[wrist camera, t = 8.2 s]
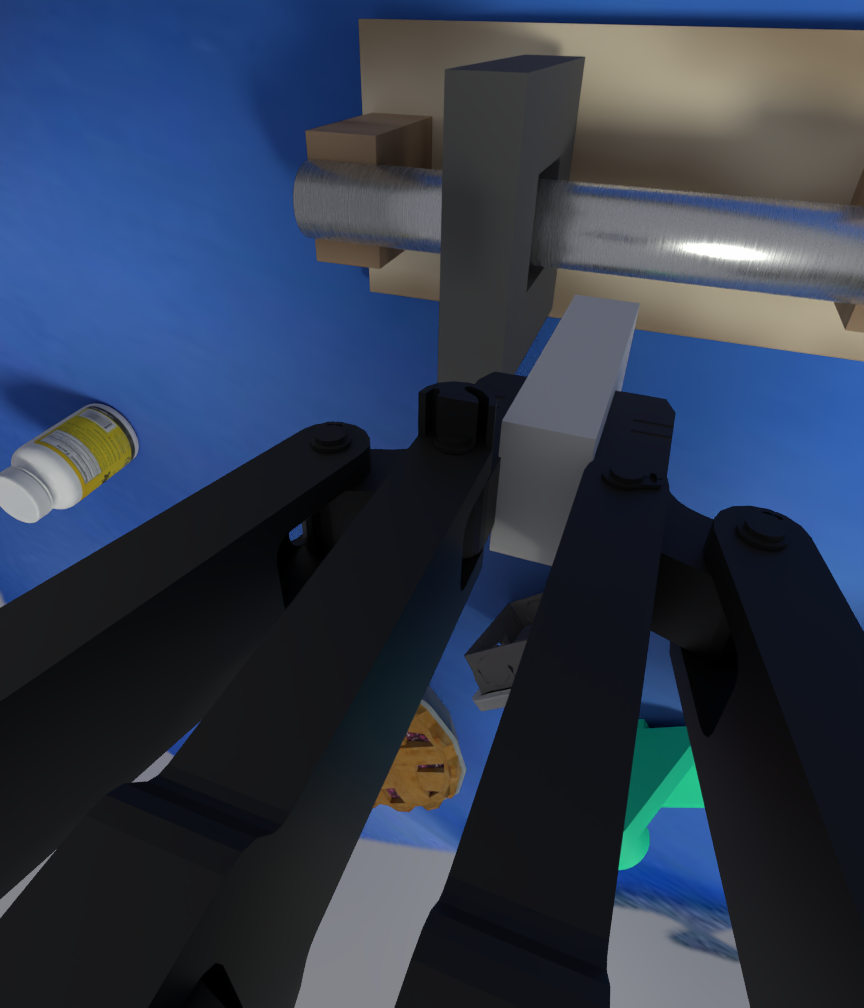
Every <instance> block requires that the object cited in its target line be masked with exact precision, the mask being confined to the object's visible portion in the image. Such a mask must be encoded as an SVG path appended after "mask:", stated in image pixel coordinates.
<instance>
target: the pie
mask: <svg viewBox="0 0 864 1008" xmlns="http://www.w3.org/2000/svg"><path fill="white" fill-rule="evenodd" d="M465 773H466V767H465V764H464V761H463V758H462V755H461V751H460V748H459V742H458V738H457V734H456V731H455V728H454V725H453V722H452V718H451V715H450V712H449V711H448V709H447V708H446V707H445V706H444V704H443V703H442V702H441V700H440V699H439V698H438V697H437V695H436V694H435V693H434V691H433V690H432V689H431V688H430V686H429V685H428V687H427V689H426V692H425V694H424V696H423V698H422V700H421V703H420V705H419V707H418V709H417V711H416V714H415V716H414V718H413V720H412V722H411V725H410V727H409V729H408V731H407V733H406V736H405V738H404V740H403V742H402V744H401V747H400V749H399V751H398V753H397V755H396V758H395V760H394V762H393V764H392V766H391V769H390V771H389V773H388V775H387V777H386V780H385V782H384V784H383V786H382V788H381V791H380V793H379V795H378V797H377V799H376V802H375V804H374V806H373V808H375V807H376V806H378V805H379V804H383V805H388V806H390V807H392V808H393V809H395V810H397V811H403V812H410V811H411V810H412V809H413V808H414V807H415V806H423V807H424V808H425V809H426V810H427V811H428V810H432V809H436V808H439V807H440V805H441V803H442V802H443V800H445V799H447V798H452V797H453V796H454V795H456V794H458V793H459V790H460V787H461V784H462V782H463V779H464V776H465Z"/></svg>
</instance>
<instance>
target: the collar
mask: <svg viewBox="0 0 864 1008" xmlns="http://www.w3.org/2000/svg"><path fill="white" fill-rule="evenodd" d="M584 64H585V57H581V56H553V55H526V54H525V55H519V56H514V57H509V58H503V59H498V60H492V61H487V62H482V63H476V64H471V65H465V66H460V67H455V68H449V69H445V79H444V122H443V166H442V209H441V252H440V296H439V339H438V382H437V383H440V382H451V381H457V382H468V383H472V384H475V383H476V382H477V380H478V379H480V378H482V377H484V376H486V375H488V374H490V373H492V372H494V371H495V372H501V373H507V374H513V375H514V374H515V373H516V371H517V369H518V367H519V366H520V364H521V362H522V360H523V359H524V357H525V355H526V353H527V352H528V350H529V348H530V346H531V345H532V343H533V341H534V339H535V338H536V336H537V334H538V332H539V331H540V329H541V327H542V325H543V324H544V322H545V320H546V318H547V317H548V315H549V313H550V311H551V310H552V306H553V299H554V291H555V284H556V276H557V269H558V268H551V267H543V266H535V265H529V262H530V252H531V243H532V233H533V224H534V214H535V205H536V195H537V186H538V178H540V179H552V180H563V181H569V178H570V170H571V162H572V155H573V147H574V140H575V132H576V125H577V117H578V109H579V102H580V94H581V87H582V79H583V71H584Z"/></svg>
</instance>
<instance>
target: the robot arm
mask: <svg viewBox="0 0 864 1008" xmlns="http://www.w3.org/2000/svg"><path fill="white" fill-rule="evenodd" d="M639 306H640V303H634V302H627V301H619V300H612V299H605V298H597V297H590V296H583V295H575V296H574V298H573V300H572V301H571V303H570V305H569V306H568V308H567V310H566V312H565V313H564V315H563V317H562V319H561V320H560V322H559V324H558V325H557V327H556V329H555V331H554V332H553V334H552V336H551V337H550V339H549V341H548V343H547V344H546V346H545V348H544V350H543V351H542V353H541V355H540V356H539V358H538V360H537V362H536V363H535V365H534V367H533V368H532V370H531V372H530V374H529V375H528V377H524V376H518V375H513V374H507V373H501V372H495V371H494V372H492V373H490V374H488V375H486V376H484V377H482V378H480V379H478V380H477V382H476V383H475V384H472V383H468V382H457V381H451V382H440V383H436V384H433V385H430V386H427V387H425V388H424V389H422V390H421V391H420V392H419V411H418V437H417V438H416V439H415V441H414V442H413V443H412V444H411V446H410V447H409V448H408V449H397V450H387V449H370V438H369V436H368V435H367V433H366V431H364V430H363V429H361V428H359V427H357V426H355V425H351V424H347V423H343V422H326V423H322V424H316V425H313V426H310V427H308V428H305V429H303V430H301V431H299V432H298V433H296V434H294V435H293V436H291V437H289V438H288V439H286V440H284V441H282V442H281V443H279V444H277V445H276V446H274V447H272V448H271V449H269V450H267V451H265V452H264V453H262V454H260V455H259V456H257V457H255V458H254V459H252V460H250V461H249V462H247V463H245V464H243V465H242V466H240V467H238V468H237V469H235V470H233V471H232V472H230V473H228V474H226V475H225V476H223V477H221V478H220V479H218V480H216V481H215V482H213V483H211V484H210V485H208V486H206V487H204V488H203V489H201V490H199V491H198V492H196V493H194V494H193V495H191V496H189V497H187V498H186V499H184V500H182V501H181V502H179V503H177V504H176V505H174V506H172V507H171V508H169V509H167V510H165V511H164V512H162V513H160V514H159V515H157V516H155V517H154V518H152V519H150V520H148V521H147V522H145V523H143V524H142V525H140V526H138V527H137V528H135V529H133V530H132V531H130V532H128V533H126V534H125V535H123V536H121V537H120V538H118V539H116V540H115V541H113V542H111V543H109V544H108V545H106V546H104V547H103V548H101V549H99V550H98V551H96V552H94V553H93V554H91V555H89V556H87V557H86V558H84V559H82V560H81V561H79V562H77V563H76V564H74V565H72V566H71V567H69V568H67V569H65V570H64V571H62V572H60V573H59V574H57V575H55V576H54V577H52V578H50V579H48V580H47V581H45V582H43V583H42V584H40V585H38V586H37V587H35V588H33V589H32V590H30V591H28V592H26V593H25V594H23V595H21V596H20V597H18V598H16V599H15V600H13V601H11V602H9V603H8V604H6V605H4V606H3V607H1V608H0V899H1V898H2V897H3V896H5V895H6V894H7V893H8V892H9V891H10V890H11V889H12V888H13V887H15V886H16V885H17V884H18V883H19V882H20V881H21V880H23V879H24V878H25V877H26V876H27V875H28V874H29V873H30V872H31V871H33V870H34V869H35V868H36V867H37V866H38V865H39V864H40V863H42V862H43V861H44V860H45V859H46V858H47V857H48V856H49V855H50V854H52V853H53V852H54V851H55V850H56V849H57V850H56V851H55V852H54V854H53V855H52V856H51V857H50V858H49V860H48V861H47V862H46V863H45V864H44V866H43V867H42V868H41V869H40V870H39V872H38V873H37V874H36V875H35V877H34V878H33V879H32V880H31V881H30V883H29V884H28V885H27V886H26V888H25V889H24V890H23V891H22V893H21V894H20V895H19V896H18V897H17V899H16V900H15V901H14V902H13V904H12V905H11V906H10V907H9V909H8V910H7V911H6V912H5V913H4V914H3V916H2V917H1V918H0V1008H294V1006H295V1003H296V1000H297V997H298V993H299V990H300V987H301V982H302V977H303V972H304V968H305V963H306V959H307V956H308V952H309V949H310V946H311V944H312V941H313V939H314V936H315V934H316V931H317V929H318V927H319V925H320V923H321V920H322V918H323V916H324V914H325V912H326V909H327V907H328V905H329V903H330V901H331V898H332V896H333V894H334V892H335V890H336V887H337V885H338V883H339V881H340V879H341V876H342V874H343V872H344V870H345V868H346V865H347V863H348V861H349V859H350V857H351V854H352V852H353V850H354V847H355V846H356V843H357V841H358V839H359V837H360V835H361V832H362V830H363V828H364V826H365V824H366V821H367V819H368V817H369V815H370V813H371V810H372V808H373V806H374V804H375V802H376V799H377V797H378V795H379V793H380V791H381V788H382V786H383V784H384V782H385V780H386V777H387V775H388V773H389V771H390V769H391V766H392V764H393V762H394V760H395V758H396V755H397V753H398V751H399V749H400V747H401V744H402V742H403V740H404V738H405V736H406V733H407V731H408V729H409V727H410V725H411V722H412V720H413V718H414V716H415V714H416V711H417V709H418V707H419V705H420V703H421V700H422V698H423V696H424V694H425V692H426V689H427V687H428V685H429V683H430V681H431V678H432V676H433V674H434V672H435V670H436V667H437V665H438V663H439V661H440V659H441V656H442V654H443V652H444V650H445V648H446V645H447V643H448V641H449V639H450V637H451V634H452V632H453V630H454V628H455V626H456V623H457V621H458V619H459V617H460V615H461V612H462V610H463V608H464V606H465V604H466V601H467V599H468V597H469V595H470V593H471V590H472V588H473V586H474V584H475V582H476V579H477V577H478V575H479V573H480V571H481V568H482V562H483V552H484V545H485V543H486V541H487V539H488V536H489V534H490V532H491V539H490V551H494V552H498V553H502V554H506V555H510V556H514V557H518V558H522V559H526V560H530V561H534V562H537V563H541V564H545V565H549V566H552V567H551V570H550V573H549V576H548V579H547V582H546V585H545V588H544V591H543V594H542V597H541V600H540V603H539V606H538V609H537V612H536V615H535V618H534V621H533V624H532V627H531V630H530V633H529V636H528V639H527V642H526V645H525V648H524V651H523V654H522V657H521V660H520V663H519V666H518V669H517V672H516V675H515V678H514V681H513V684H512V687H511V690H510V693H509V696H508V699H507V702H506V705H505V708H504V711H503V714H502V717H501V720H500V723H499V726H498V729H497V732H496V735H495V738H494V741H493V744H492V747H491V750H490V753H489V756H488V759H487V762H486V765H485V768H484V771H483V774H482V777H481V780H480V783H479V786H478V789H477V792H476V795H475V798H474V801H473V804H472V807H471V810H470V813H469V816H468V819H467V822H466V825H465V828H464V831H463V834H462V837H461V840H460V843H459V846H458V849H457V852H456V855H455V858H454V861H453V864H452V867H451V870H450V873H449V876H448V879H447V881H446V884H445V887H444V890H443V892H442V895H441V896H440V899H439V901H438V902H437V903H436V904H435V906H434V907H433V908H432V909H431V911H430V913H429V916H428V918H427V920H426V922H425V924H424V926H423V929H422V931H421V934H420V937H419V939H418V942H417V945H416V948H415V950H414V953H413V955H412V958H411V961H410V964H409V967H408V970H407V973H406V976H405V979H404V981H403V985H402V987H401V990H400V993H399V996H398V999H397V1002H396V1005H395V1008H610V983H609V979H608V974H607V953H608V943H609V936H610V928H611V921H612V913H613V906H614V899H615V891H616V884H617V876H618V869H619V861H620V854H621V846H622V839H623V831H624V824H625V816H626V809H627V801H628V794H629V786H630V779H631V771H632V764H633V756H634V749H635V742H636V734H637V727H638V719H639V712H640V704H641V697H642V689H643V682H644V674H645V667H646V659H647V652H648V644H649V637H650V630H651V631H653V632H654V633H656V634H658V635H660V636H662V637H664V638H666V639H668V640H669V641H670V657H671V661H672V666H673V670H674V675H675V679H676V683H677V688H678V692H679V697H680V701H681V705H682V710H683V714H684V719H685V723H686V727H687V732H688V736H689V740H690V745H691V749H692V754H693V758H694V762H695V767H696V771H697V776H698V780H699V784H700V789H701V793H702V798H703V802H704V806H705V811H706V815H707V819H708V824H709V828H710V833H711V837H712V841H713V846H714V850H715V855H716V859H717V863H718V868H719V872H720V877H721V881H722V885H723V890H724V894H725V898H726V903H727V907H728V912H729V916H730V920H731V925H732V929H733V934H734V938H735V942H736V947H737V951H738V955H739V960H740V964H741V968H742V973H743V977H744V981H745V986H746V991H747V995H748V999H749V1003H750V1008H864V631H863V630H862V628H861V626H860V624H859V622H858V621H857V619H856V617H855V615H854V613H853V612H852V610H851V608H850V606H849V604H848V603H847V601H846V599H845V597H844V596H843V594H842V592H841V590H840V588H839V587H838V585H837V583H836V581H835V579H834V578H833V576H832V574H831V572H830V570H829V569H828V567H827V565H826V563H825V561H824V560H823V558H822V556H821V554H820V552H819V551H818V549H817V547H816V545H815V543H814V542H813V540H812V538H811V537H810V536H809V534H808V533H807V532H806V531H805V530H804V529H803V528H802V526H800V525H799V524H797V523H796V522H794V521H793V520H791V519H790V518H788V517H786V516H784V515H782V514H780V513H778V512H774V511H772V510H769V509H766V508H759V507H753V506H733V507H730V508H727V509H724V510H721V511H720V512H719V513H718V514H717V516H716V517H715V518H714V520H713V519H711V518H709V517H706V516H704V515H701V514H699V513H697V512H695V511H693V510H691V509H689V508H687V507H686V506H685V505H683V504H682V503H680V502H679V501H678V500H677V499H676V498H675V497H674V496H673V495H672V494H671V493H670V491H669V483H668V479H667V471H668V463H669V456H670V449H671V442H672V434H673V427H674V420H675V412H674V410H673V409H672V407H671V406H670V404H669V403H668V401H667V400H666V399H662V398H656V397H650V396H644V395H639V394H633V393H627V392H621V389H622V385H623V380H624V376H625V371H626V366H627V362H628V357H629V352H630V348H631V343H632V339H633V334H634V329H635V325H636V320H637V315H638V311H639ZM301 523H302V529H303V534H302V535H301V536H299V537H298V538H297V539H295V540H293V541H290V539H289V532H290V531H291V530H293V529H294V528H295V527H297V526H298V525H299V524H301ZM200 721H201V722H200ZM199 722H200V723H199ZM198 723H199V724H198ZM196 724H198V726H197V727H196V728H195V730H194V731H193V732H192V734H191V735H190V736H189V738H188V739H187V740H186V742H185V743H184V744H183V745H182V747H181V748H180V749H179V751H178V752H177V753H176V755H175V756H174V757H173V759H172V760H171V761H170V763H169V764H168V765H167V766H166V767H165V768H164V769H163V770H162V772H161V773H160V774H159V775H158V776H156V777H154V778H153V779H151V780H149V781H148V782H134V783H131V782H132V781H134V780H135V779H136V778H137V777H138V776H139V775H140V774H141V773H143V772H144V771H145V770H146V769H147V768H148V767H149V766H150V765H152V763H154V762H155V761H156V760H157V759H158V758H159V757H161V756H162V754H164V753H165V752H166V751H167V750H168V749H169V748H171V747H172V746H173V745H174V744H175V743H176V742H177V741H178V740H180V739H181V738H182V737H183V736H184V735H185V734H186V733H187V732H189V731H190V730H191V729H192V728H193V727H194V726H195V725H196Z"/></svg>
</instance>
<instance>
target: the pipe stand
mask: <svg viewBox="0 0 864 1008" xmlns="http://www.w3.org/2000/svg"><path fill="white" fill-rule="evenodd" d="M359 42H360V66H361V89H362V113H363V115H361V116H357V117H354V118H350V119H346V120H343V121H339V122H335V123H332V124H328V125H324V126H321V127H317V128H313V129H309V130H306V131H305V133H306V144H307V155H308V159H312V160H324V161H335V162H347V163H358V164H370V165H389V166H401V167H413V168H424V169H436V170H442V166H443V122H444V79H445V69H449V68H455V67H460V66H465V65H471V64H476V63H482V62H487V61H492V60H498V59H503V58H509V57H514V56H519V55H525V54H526V55H553V56H581V57H585V64H584V71H583V79H582V87H581V94H580V102H579V109H578V117H577V125H576V132H575V140H574V147H573V155H572V162H571V170H570V178H569V181H575V182H587V183H598V184H610V185H621V186H633V187H645V188H656V189H668V190H679V191H691V192H703V193H714V194H726V195H737V196H749V197H761V198H772V199H784V200H795V201H807V202H819V203H830V204H842V205H854V206H864V30H836V29H793V28H749V27H706V26H662V25H618V24H575V23H531V22H488V21H444V20H401V19H359ZM315 243H316V254H317V261H322V262H330V263H337V264H345V265H352V266H360V267H368V268H369V276H370V291H371V292H378V293H385V294H392V295H399V296H406V297H413V298H420V299H427V300H434V301H439V296H440V254H436V253H428V252H420V251H412V250H404V249H395V248H387V247H379V246H371V245H362V244H354V243H346V242H338V241H330V240H321V239H315ZM575 295H583V296H590V297H597V298H605V299H612V300H619V301H627V302H634V303H640V306H639V311H638V315H637V320H636V325H635V329H639V330H646V331H653V332H660V333H667V334H674V335H681V336H688V337H695V338H702V339H709V340H716V341H723V342H730V343H738V344H745V345H752V346H759V347H766V348H773V349H780V350H787V351H794V352H801V353H808V354H815V355H822V356H829V357H836V358H843V359H850V360H857V361H864V305H855V304H847V303H839V302H831V301H823V300H814V299H806V298H798V297H790V296H781V295H773V294H765V293H757V292H749V291H740V290H732V289H724V288H716V287H708V286H699V285H691V284H683V283H675V282H666V281H658V280H650V279H642V278H634V277H625V276H617V275H609V274H601V273H593V272H584V271H576V270H568V269H560V268H558V269H557V276H556V284H555V291H554V299H553V306H552V310H551V311H550V313H549V315H548V317H554V318H561V319H562V317H563V315H564V313H565V312H566V310H567V308H568V306H569V305H570V303H571V301H572V300H573V298H574V296H575Z"/></svg>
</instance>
